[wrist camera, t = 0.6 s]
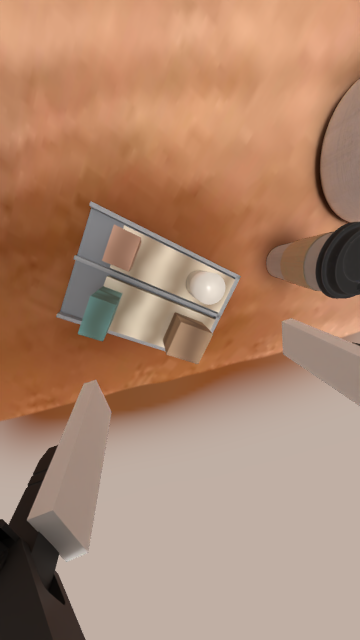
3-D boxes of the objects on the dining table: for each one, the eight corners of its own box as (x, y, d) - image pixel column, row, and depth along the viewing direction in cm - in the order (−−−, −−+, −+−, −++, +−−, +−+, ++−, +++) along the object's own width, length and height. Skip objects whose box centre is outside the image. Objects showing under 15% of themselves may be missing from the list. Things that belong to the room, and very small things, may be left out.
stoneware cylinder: (181, 290, 32) (189, 297, 26) (192, 265, 31) (203, 267, 25) (204, 300, 33) (216, 309, 28) (215, 276, 32) (230, 280, 27)
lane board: (61, 313, 32) (56, 316, 30) (94, 204, 28) (90, 201, 27) (195, 356, 40) (198, 361, 38) (235, 275, 36) (240, 276, 34)
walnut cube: (162, 339, 34) (166, 354, 29) (174, 311, 33) (181, 322, 28) (189, 348, 36) (198, 364, 30) (202, 322, 34) (213, 334, 29)
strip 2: (93, 320, 33) (73, 345, 23) (108, 275, 31) (94, 282, 22) (193, 353, 38) (210, 384, 29) (211, 316, 37) (235, 336, 27)
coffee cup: (274, 295, 39) (349, 316, 25) (247, 261, 36) (316, 263, 22) (309, 260, 38) (407, 261, 24) (285, 222, 35) (382, 198, 21)
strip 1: (111, 266, 31) (98, 270, 21) (125, 227, 29) (117, 212, 20) (214, 310, 36) (240, 328, 27) (230, 278, 35) (262, 285, 26)
